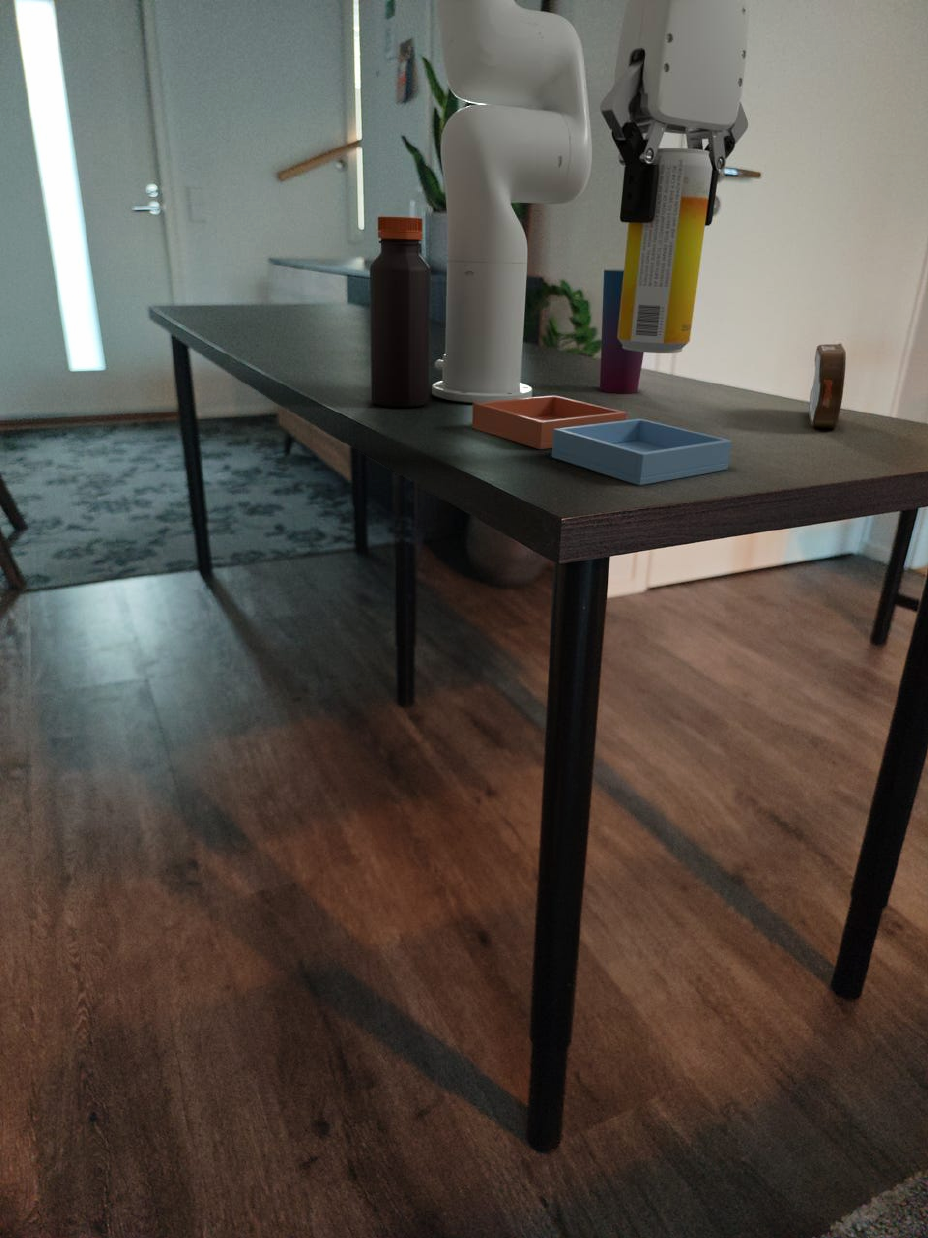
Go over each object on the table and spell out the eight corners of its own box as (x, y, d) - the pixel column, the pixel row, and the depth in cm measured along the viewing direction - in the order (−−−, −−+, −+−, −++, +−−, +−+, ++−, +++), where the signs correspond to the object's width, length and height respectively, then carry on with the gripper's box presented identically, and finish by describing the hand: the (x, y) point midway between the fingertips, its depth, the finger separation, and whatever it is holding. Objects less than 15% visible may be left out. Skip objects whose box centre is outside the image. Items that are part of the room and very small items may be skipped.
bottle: (373, 397, 104) (370, 216, 96) (428, 399, 104) (431, 218, 96) (369, 408, 98) (366, 215, 90) (429, 409, 98) (431, 217, 90)
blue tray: (551, 457, 79) (553, 428, 77) (637, 444, 85) (640, 418, 83) (639, 485, 70) (643, 454, 69) (727, 469, 76) (732, 440, 75)
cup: (641, 387, 118) (654, 270, 112) (646, 395, 112) (660, 272, 106) (592, 384, 119) (602, 268, 113) (594, 392, 112) (605, 270, 106)
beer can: (689, 347, 75) (714, 155, 69) (686, 355, 70) (714, 147, 64) (620, 343, 77) (639, 154, 71) (612, 351, 71) (632, 146, 65)
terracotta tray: (471, 427, 89) (472, 402, 88) (552, 418, 95) (554, 395, 94) (539, 449, 81) (541, 422, 80) (624, 438, 87) (627, 412, 86)
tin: (837, 435, 92) (854, 354, 88) (806, 432, 93) (821, 352, 89) (830, 412, 105) (844, 340, 101) (803, 409, 106) (816, 338, 102)
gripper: (732, -17, 69) (700, 227, 77) (573, -62, 60) (555, 219, 67) (813, -37, 64) (771, 227, 71) (652, -91, 55) (622, 220, 62)
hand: (666, 221), depth 69 cm, fingers closed on beer can, 6 cm apart
